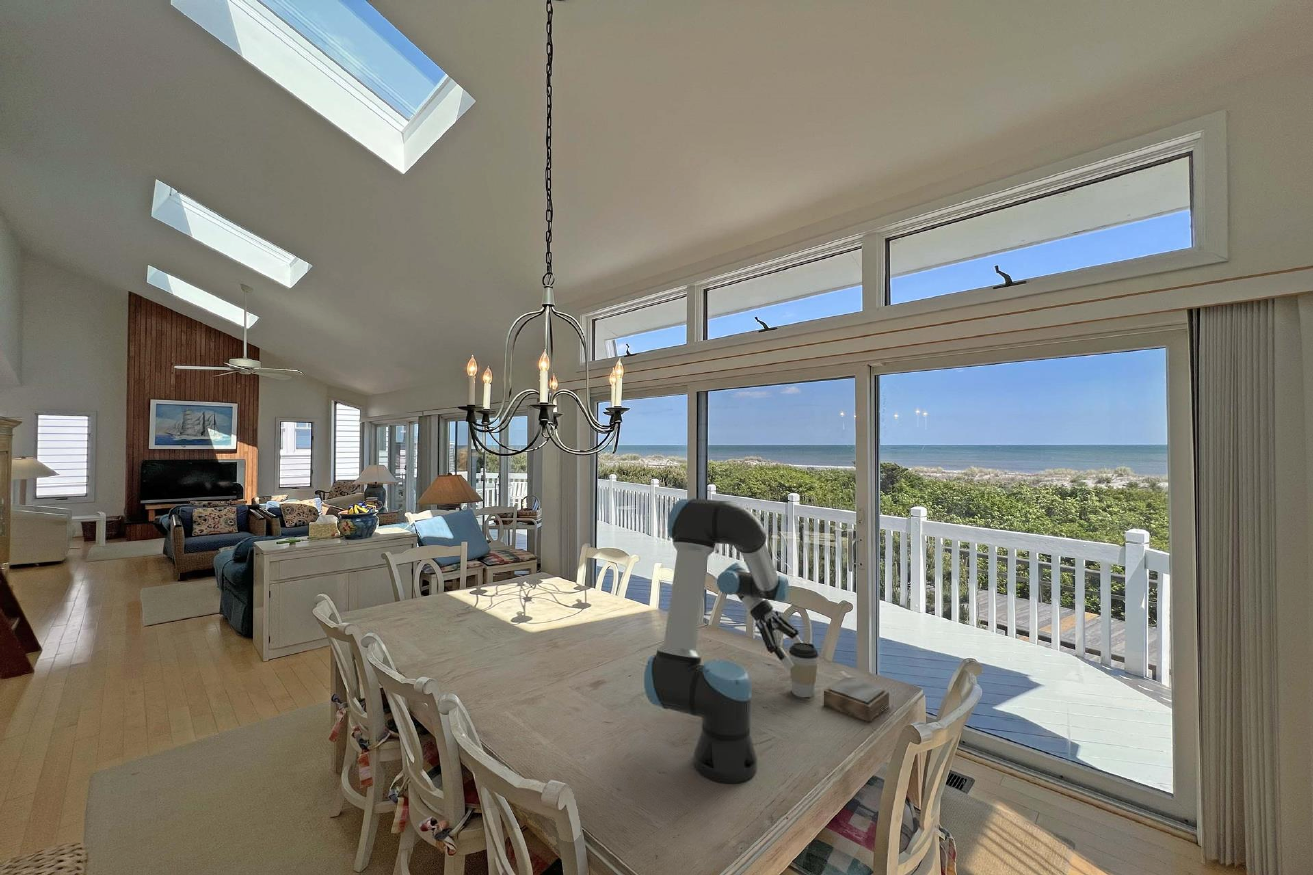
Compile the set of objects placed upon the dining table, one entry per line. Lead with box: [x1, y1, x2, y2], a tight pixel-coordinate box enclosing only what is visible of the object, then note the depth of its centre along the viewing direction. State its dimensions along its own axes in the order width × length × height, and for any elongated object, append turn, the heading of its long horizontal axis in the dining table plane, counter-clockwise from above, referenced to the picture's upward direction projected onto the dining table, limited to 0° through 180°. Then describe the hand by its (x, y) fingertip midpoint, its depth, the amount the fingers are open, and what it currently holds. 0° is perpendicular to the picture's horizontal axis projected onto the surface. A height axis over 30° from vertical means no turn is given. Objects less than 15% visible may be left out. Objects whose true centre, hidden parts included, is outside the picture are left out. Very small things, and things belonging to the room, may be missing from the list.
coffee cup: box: [788, 642, 819, 698], centre depth 170 cm, size 9×9×15 cm
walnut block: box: [823, 676, 890, 722], centre depth 162 cm, size 14×14×5 cm
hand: (799, 661), depth 172 cm, fingers open, 13 cm apart
